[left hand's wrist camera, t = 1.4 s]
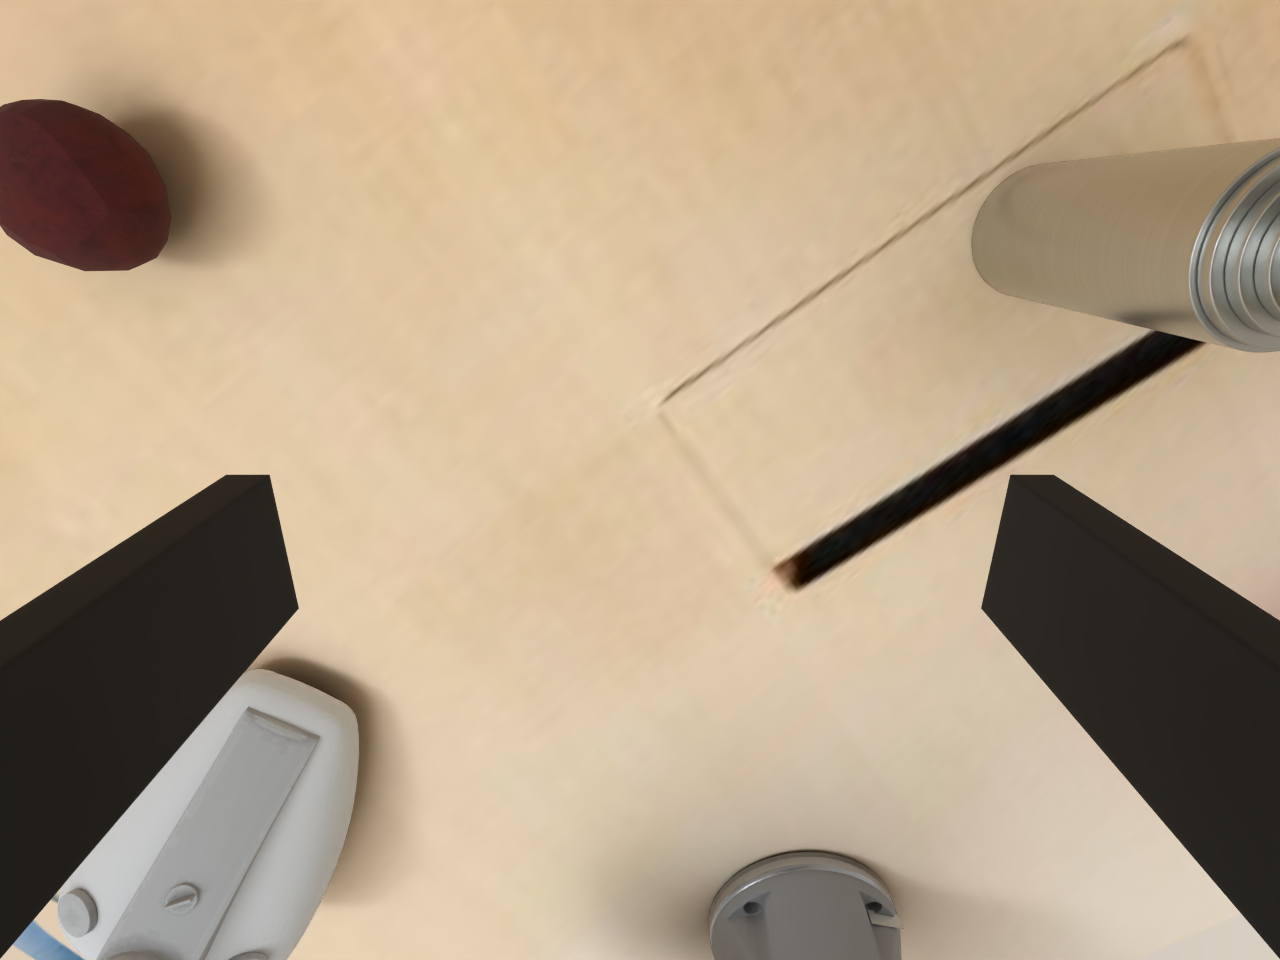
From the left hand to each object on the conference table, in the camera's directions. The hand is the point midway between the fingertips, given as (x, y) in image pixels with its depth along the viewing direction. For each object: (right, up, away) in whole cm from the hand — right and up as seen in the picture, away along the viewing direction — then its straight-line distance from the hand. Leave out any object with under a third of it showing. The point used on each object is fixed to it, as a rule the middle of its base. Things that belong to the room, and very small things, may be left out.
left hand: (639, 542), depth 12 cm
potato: (-27, +16, +24) cm, 39 cm away
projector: (-29, -21, +39) cm, 53 cm away
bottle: (+21, +14, +24) cm, 35 cm away
